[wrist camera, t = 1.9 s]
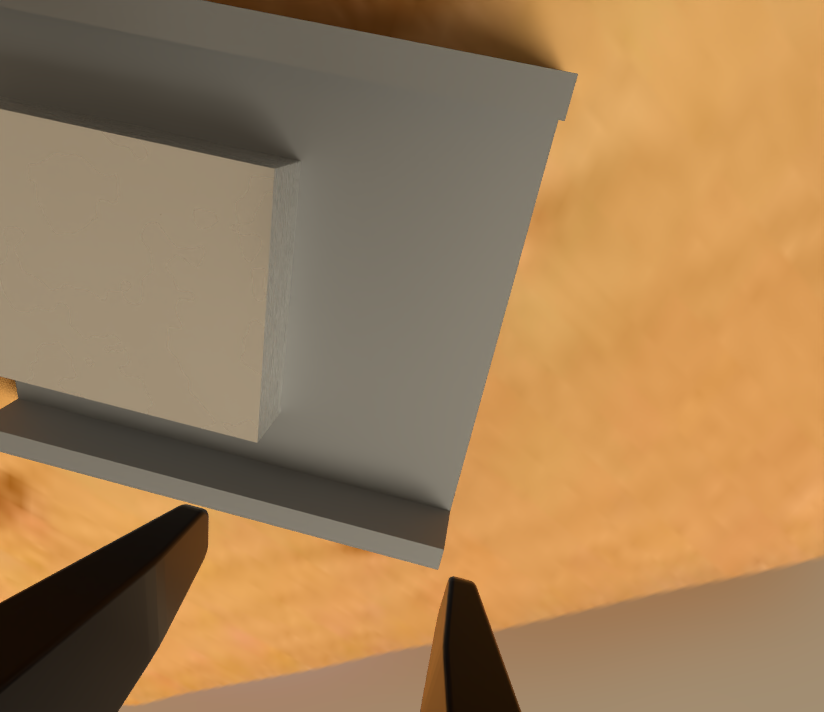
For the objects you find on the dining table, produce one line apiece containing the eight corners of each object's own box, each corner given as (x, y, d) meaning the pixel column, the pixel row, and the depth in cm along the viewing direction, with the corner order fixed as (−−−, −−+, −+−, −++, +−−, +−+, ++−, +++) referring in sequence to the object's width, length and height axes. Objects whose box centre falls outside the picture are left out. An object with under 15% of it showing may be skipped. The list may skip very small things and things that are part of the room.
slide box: (566, 78, 15) (578, 73, 12) (447, 513, 22) (438, 569, 20) (-27, -39, 16) (-133, -66, 14) (40, 406, 24) (-21, 446, 21)
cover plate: (300, 161, 16) (274, 168, 14) (279, 412, 20) (257, 442, 18) (-6, 94, 17) (-67, 94, 15) (32, 350, 21) (-12, 373, 19)
